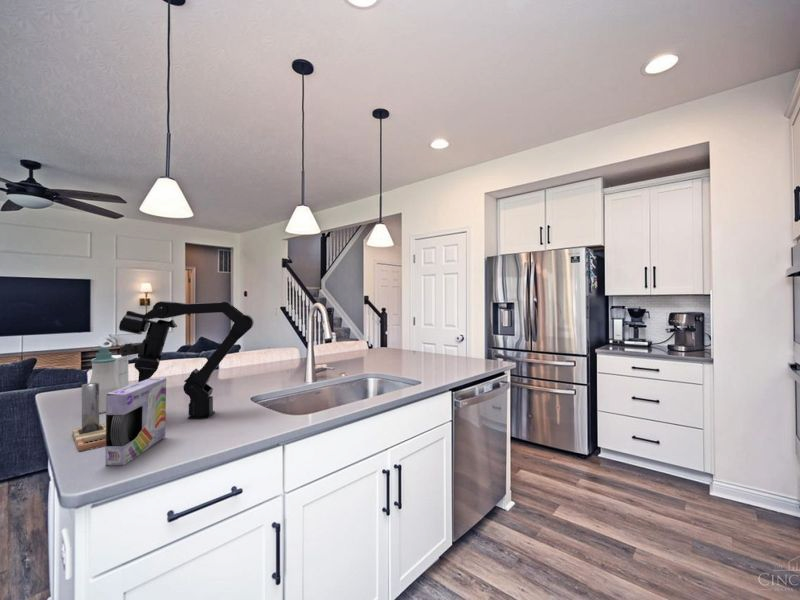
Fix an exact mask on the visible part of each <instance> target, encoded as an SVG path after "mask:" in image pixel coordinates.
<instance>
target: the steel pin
mask: <svg viewBox="0 0 800 600" xmlns="http://www.w3.org/2000/svg"><path fill="white" fill-rule="evenodd" d="M99 425H100V413H99V383H89V382H88V383H84V384H81V428H82V434H84V433H89V432H94V431H99Z"/></svg>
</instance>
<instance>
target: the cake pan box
mask: <svg viewBox="0 0 800 600" xmlns="http://www.w3.org/2000/svg"><path fill="white" fill-rule="evenodd" d="M166 400H167V377H157V376H156V377H153V376H151V378H149V379H146V380H144V381H141V382H134V383H130V384H128V386H126V387H124V388H121V389H119V390H116V391H113V392H110V393H107V395H106V412H105V425H106V446H104V447H105V465H115V466H117V465H118V466H125V465H126V464H128V463H129V462H131V461H132V460H134V459H135V458H137V456H139V455H141V454H142V453H144V452H145V451H146V450H148V449H149V448H151V447H152V446H153V445H154V444H157V443H158V442H159V441H161V440H162V439H163V438H165V437H166V415H167V414H166V411H167V410H166V407H167V406H166V405H167V403H166V402H167V401H166ZM130 460H131V461H130ZM127 462H128V463H127ZM124 464H125V465H124Z"/></svg>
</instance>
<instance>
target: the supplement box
mask: <svg viewBox="0 0 800 600" xmlns="http://www.w3.org/2000/svg"><path fill="white" fill-rule="evenodd" d="M112 357H114V358H116V360H115V371H116V375H117V378H118V381H119V384H120V389H121V388H124V387H126V386H128V385H129V355H127V356H121V354H112ZM95 358H96V357H95ZM95 358H92V359H91V360H94V359H95Z"/></svg>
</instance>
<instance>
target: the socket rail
mask: <svg viewBox="0 0 800 600" xmlns="http://www.w3.org/2000/svg"><path fill="white" fill-rule="evenodd" d="M72 437H73V440H74V442H75V445H76V447H77V451H78V450H79V451H81V452H84V451H83V450H85V451H88V450H87V449H89V450H92V449H91V448H94V449H97V448H96V447H98V448H101V446H103V447H105V446H106V423H102V424H100V423H99V431H94V432H89V433H84V434H82V427H80V428H75V429H72ZM100 439H102V440H100ZM95 440H97V441H95ZM90 441H92V442H90ZM86 442H88V443H86ZM79 451H78V452H79Z"/></svg>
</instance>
